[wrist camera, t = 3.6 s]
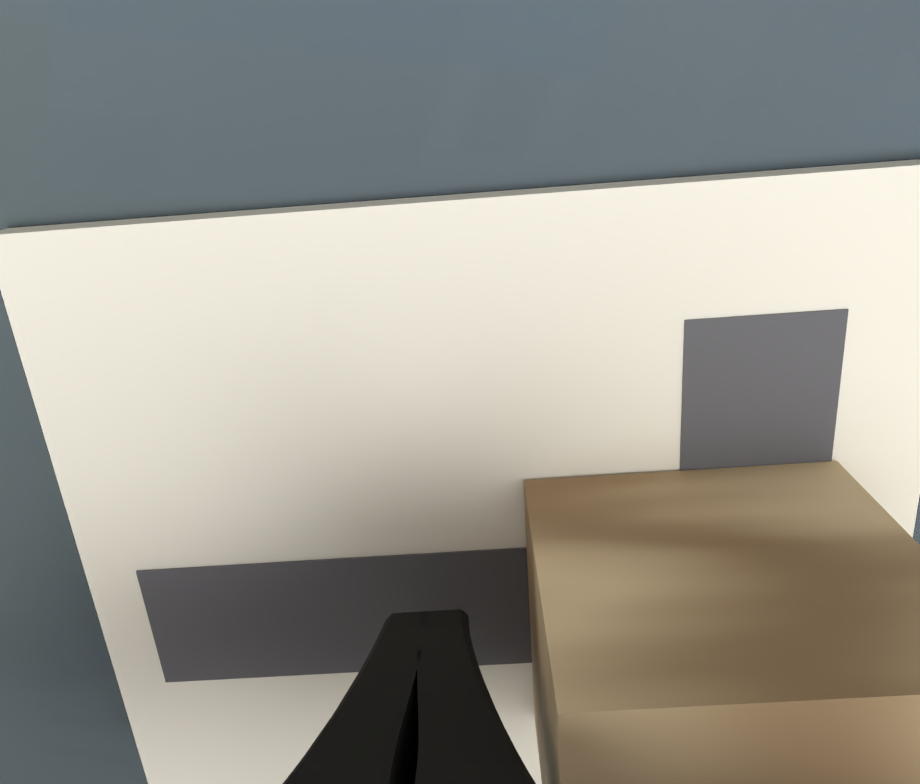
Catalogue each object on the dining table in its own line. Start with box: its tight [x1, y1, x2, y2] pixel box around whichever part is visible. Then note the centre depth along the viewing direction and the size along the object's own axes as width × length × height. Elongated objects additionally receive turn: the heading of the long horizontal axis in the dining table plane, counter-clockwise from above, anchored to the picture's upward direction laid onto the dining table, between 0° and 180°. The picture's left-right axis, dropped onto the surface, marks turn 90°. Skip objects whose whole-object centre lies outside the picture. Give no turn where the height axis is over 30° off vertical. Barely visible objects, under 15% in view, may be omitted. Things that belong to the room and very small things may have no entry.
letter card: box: [0, 159, 920, 784], centre depth 14 cm, size 14×14×1 cm
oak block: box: [523, 461, 920, 784], centre depth 11 cm, size 5×5×5 cm
